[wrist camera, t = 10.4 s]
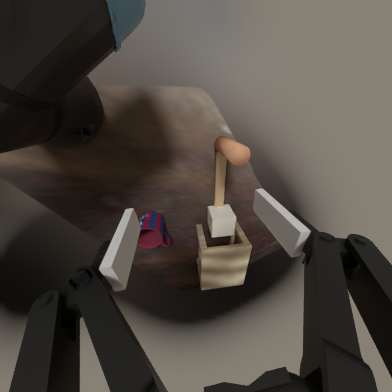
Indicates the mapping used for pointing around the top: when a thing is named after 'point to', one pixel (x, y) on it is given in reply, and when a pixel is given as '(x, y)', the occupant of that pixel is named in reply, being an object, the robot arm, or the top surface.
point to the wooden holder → (223, 260)
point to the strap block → (222, 214)
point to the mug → (152, 231)
